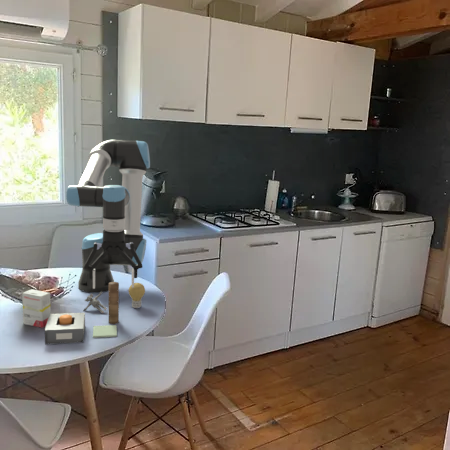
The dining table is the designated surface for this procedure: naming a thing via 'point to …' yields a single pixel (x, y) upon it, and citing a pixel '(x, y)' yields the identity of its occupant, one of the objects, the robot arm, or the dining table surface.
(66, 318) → the button
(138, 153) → the robot arm
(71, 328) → the grey square holder
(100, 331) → the mat
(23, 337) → the dining table surface
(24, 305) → the ink box
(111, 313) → the walnut dowel
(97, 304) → the elephant figurine
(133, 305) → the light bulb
